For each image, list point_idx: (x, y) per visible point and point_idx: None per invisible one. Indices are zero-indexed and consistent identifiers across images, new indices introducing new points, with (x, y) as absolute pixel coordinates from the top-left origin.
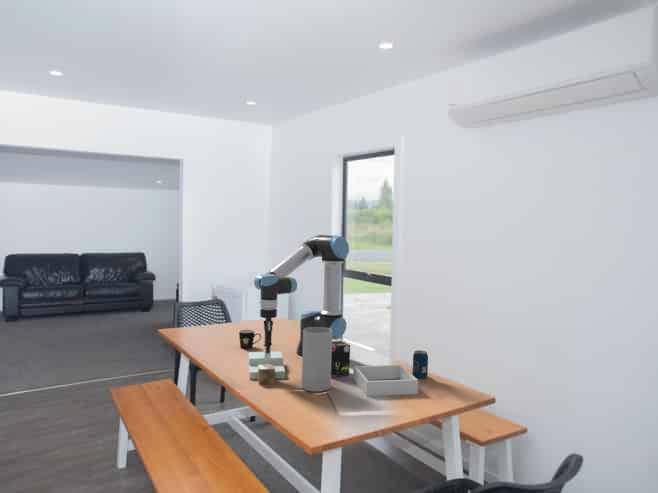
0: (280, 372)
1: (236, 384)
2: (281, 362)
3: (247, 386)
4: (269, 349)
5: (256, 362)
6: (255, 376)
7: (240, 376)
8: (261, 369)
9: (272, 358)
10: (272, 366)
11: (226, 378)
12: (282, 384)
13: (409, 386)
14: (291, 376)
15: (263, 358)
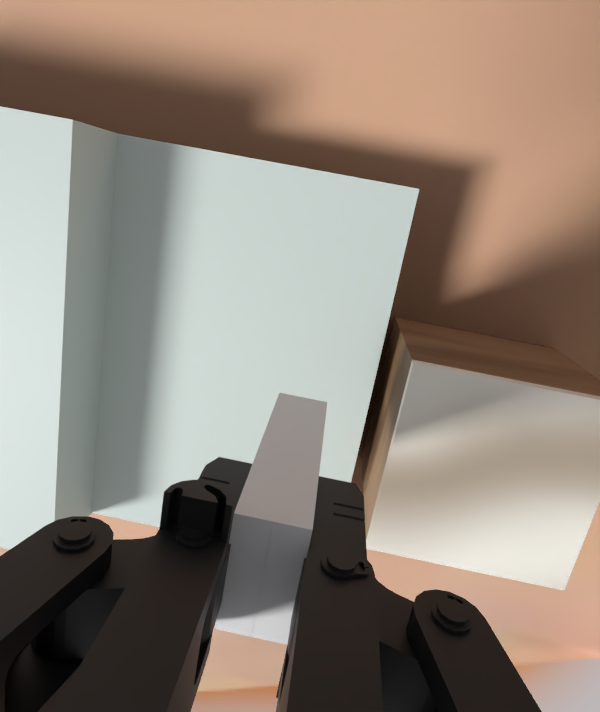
0: (403, 250)
1: None
2: (104, 152)
3: None
4: (363, 530)
5: (81, 459)
6: None
7: None
8: (569, 560)
9: (68, 284)
10: (522, 414)
11: (253, 666)
12: (597, 277)
13: None
14: (366, 97)
15: (60, 401)
